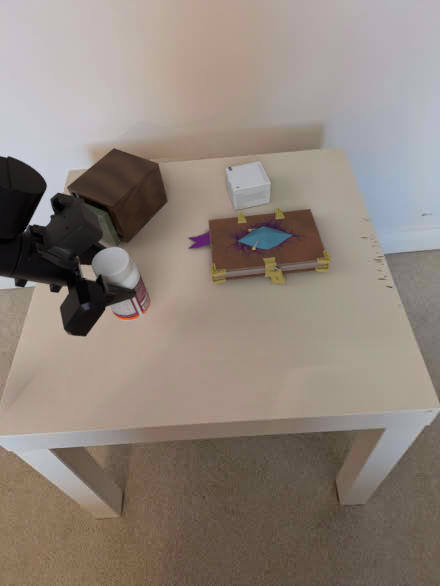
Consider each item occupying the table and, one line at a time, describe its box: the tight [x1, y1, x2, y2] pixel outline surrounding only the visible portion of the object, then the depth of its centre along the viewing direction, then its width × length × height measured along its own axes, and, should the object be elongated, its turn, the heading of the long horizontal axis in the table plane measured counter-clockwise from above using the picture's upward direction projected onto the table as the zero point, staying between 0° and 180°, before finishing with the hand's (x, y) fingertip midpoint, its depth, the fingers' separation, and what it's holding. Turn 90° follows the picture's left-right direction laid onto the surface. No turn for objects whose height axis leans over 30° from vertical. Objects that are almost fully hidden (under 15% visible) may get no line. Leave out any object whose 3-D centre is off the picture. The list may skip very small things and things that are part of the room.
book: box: [187, 207, 333, 285], centre depth 68 cm, size 16×25×5 cm, turn 95°
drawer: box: [75, 193, 122, 247], centre depth 72 cm, size 17×10×8 cm, turn 148°
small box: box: [224, 160, 272, 211], centre depth 77 cm, size 8×8×5 cm
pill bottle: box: [91, 246, 151, 322], centre depth 54 cm, size 6×6×11 cm
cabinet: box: [66, 147, 169, 244], centre depth 75 cm, size 14×12×10 cm
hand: (129, 278), depth 54 cm, fingers closed on pill bottle, 6 cm apart
